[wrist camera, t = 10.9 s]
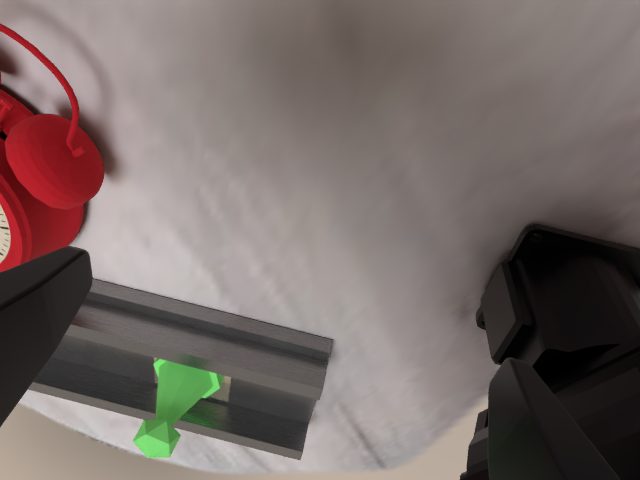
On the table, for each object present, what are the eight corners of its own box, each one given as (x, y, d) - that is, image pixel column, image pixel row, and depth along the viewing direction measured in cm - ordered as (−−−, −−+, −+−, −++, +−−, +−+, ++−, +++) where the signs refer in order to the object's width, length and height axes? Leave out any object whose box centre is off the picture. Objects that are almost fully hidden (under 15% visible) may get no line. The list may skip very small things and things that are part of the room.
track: (332, 340, 27) (325, 381, 25) (306, 424, 33) (298, 465, 30) (-58, 240, 28) (-103, 271, 25) (-21, 339, 33) (-55, 373, 31)
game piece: (231, 358, 28) (194, 451, 23) (216, 396, 31) (179, 488, 26) (163, 333, 28) (111, 422, 23) (153, 374, 30) (105, 462, 25)
